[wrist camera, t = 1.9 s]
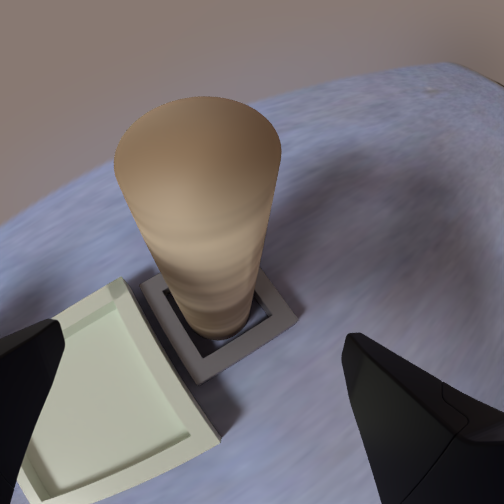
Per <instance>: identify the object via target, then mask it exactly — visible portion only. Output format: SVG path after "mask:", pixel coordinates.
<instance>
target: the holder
mask: <svg viewBox="0 0 504 504" xmlns="http://www.w3.org/2000/svg"><path fill="white" fill-rule="evenodd" d="M139 287H140V288H141V290H142V292H143V294H144V296H145V298H146V300H147V302H148V303H149V305H150V307H151V309H152V311H153V313H154V314H155V316H156V318H157V320H158V322H159V323H160V325H161V327H162V329H163V330H164V332H165V334H166V336H167V337H168V339H169V341H170V342H171V344H172V346H173V347H174V349H175V351H176V352H177V354H178V356H179V357H180V359H181V361H182V362H183V364H184V366H185V367H186V369H187V370H188V372H189V374H190V375H191V377H192V378H193V380H194V381H195V383H196V385H198V386H199V385H201V384H203V383H204V382H206V381H208V380H209V379H211V378H213V377H214V376H216V375H218V374H219V373H221V372H223V371H224V370H226V369H227V368H229V367H231V366H232V365H234V364H235V363H237V362H239V361H240V360H242V359H243V358H245V357H247V356H248V355H250V354H251V353H253V352H254V351H256V350H257V349H259V348H260V347H262V346H264V345H265V344H267V343H268V342H270V341H271V340H273V339H274V338H276V337H277V336H279V335H280V334H282V333H283V332H284V331H286V330H287V329H289V328H290V327H292V326H293V325H295V324H296V323H297V321H298V318H297V317H296V316H295V314H294V313H293V311H292V310H291V309H290V307H289V306H288V305H287V303H286V302H285V301H284V299H283V298H282V296H281V295H280V294H279V292H278V291H277V290H276V288H275V287H274V285H273V284H272V283H271V281H270V280H269V279H268V277H267V276H266V275H265V273H264V272H263V270H262V269H261V268H260V266H259V270H258V274H257V279H256V284H255V289H254V294H253V295H254V297H255V298H256V300H257V301H258V303H259V304H260V305H261V307H262V308H263V310H264V311H265V312H266V314H267V315H268V317H269V318H268V319H266V320H264V321H263V322H261V323H260V324H258V325H257V326H255V327H254V328H252V329H250V330H249V331H247V332H246V333H244V334H243V335H241V336H239V337H238V338H236V339H235V340H233V341H231V342H230V343H228V344H227V345H225V346H223V347H222V348H220V349H218V350H217V351H215V352H213V353H212V354H210V355H209V356H207V357H205V358H204V359H203V358H202V356H201V355H200V353H199V352H198V350H197V348H196V347H195V345H194V344H193V342H192V340H191V339H190V337H189V336H188V334H187V332H186V331H185V329H184V327H183V326H182V324H181V322H180V321H179V319H178V317H177V316H176V314H175V312H174V311H173V309H172V307H171V305H170V304H169V302H168V300H167V298H166V296H167V295H169V294H171V291H170V289H169V288H168V286H167V284H166V282H165V280H164V278H163V276H162V274H161V273H159V274H157V275H156V276H154V277H152V278H150V279H149V280H147V281H145V282H143V283H142V284H140V285H139Z"/></svg>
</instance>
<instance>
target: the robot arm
mask: <svg viewBox="0 0 504 504" xmlns="http://www.w3.org/2000/svg"><path fill="white" fill-rule="evenodd" d="M64 349H65V339H64V336H63V332H62V329H61V325H60V322H59V321H58V320H55V319H45V320H43V321H40V322H38V323H36V324H33V325H31V326H29V327H26V328H24V329H22V330H20V331H17V332H15V333H13V334H10V335H8V336H6V337H3V338H1V339H0V504H10V502H11V499H12V495H13V491H14V487H15V484H16V481H17V478H18V474H19V471H20V468H21V465H22V462H23V459H24V456H25V453H26V450H27V448H28V445H29V442H30V439H31V437H32V434H33V431H34V429H35V426H36V423H37V421H38V418H39V416H40V413H41V411H42V409H43V406H44V404H45V401H46V399H47V397H48V394H49V392H50V390H51V387H52V385H53V382H54V379H55V376H56V373H57V370H58V367H59V364H60V361H61V358H62V355H63V352H64ZM341 360H342V366H343V371H344V375H345V380H346V385H347V390H348V395H349V400H350V403H351V407H352V410H353V413H354V416H355V419H356V422H357V425H358V428H359V431H360V434H361V438H362V441H363V444H364V447H365V450H366V453H367V457H368V460H369V463H370V466H371V469H372V473H373V476H374V479H375V483H376V486H377V489H378V493H379V496H380V500H381V503H382V504H504V412H502V411H500V410H497V409H495V408H493V407H491V406H489V405H487V404H484V403H482V402H480V401H478V400H476V399H474V398H472V397H470V396H468V395H466V394H464V393H462V392H460V391H459V390H457V389H455V388H453V387H451V386H450V385H448V384H446V383H445V382H442V381H441V380H439V379H438V378H436V377H434V376H433V375H431V374H429V373H428V372H426V371H424V370H422V369H421V368H419V367H417V366H416V365H414V364H412V363H411V362H409V361H407V360H406V359H404V358H402V357H401V356H399V355H397V354H395V353H394V352H392V351H390V350H389V349H387V348H385V347H384V346H382V345H380V344H379V343H377V342H375V341H374V340H372V339H370V338H369V337H367V336H365V335H364V334H362V333H349V334H347V336H346V339H345V343H344V348H343V352H342V357H341Z"/></svg>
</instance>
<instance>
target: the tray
mask: <svg viewBox="0 0 504 504" xmlns="http://www.w3.org/2000/svg"><path fill="white" fill-rule="evenodd" d="M51 319H55V320H58V321H59V322H60V325H61V329H62V332H63V336H64V339H65V349H64V352H63V355H62V358H61V361H60V364H59V367H58V370H57V373H56V376H55V379H54V382H53V385H52V387H51V390H50V392H49V394H48V397H47V399H46V401H45V404H44V406H43V409H42V411H41V413H40V416H39V418H38V421H37V423H36V426H35V429H34V431H33V434H32V437H31V439H30V442H29V445H28V448H27V450H26V453H25V456H24V459H23V462H22V465H21V468H20V471H19V474H18V478H17V482H18V483H19V485H20V487H21V489H22V490H23V492H24V494H25V496H26V497H27V499H28V501H29V502H30V504H91V503H94V502H97V501H99V500H102V499H105V498H107V497H110V496H112V495H115V494H117V493H120V492H122V491H125V490H127V489H129V488H132V487H134V486H136V485H139V484H141V483H143V482H145V481H148V480H150V479H152V478H154V477H156V476H158V475H160V474H163V473H165V472H167V471H169V470H171V469H173V468H175V467H177V466H179V465H181V464H183V463H185V462H187V461H188V460H190V459H192V458H194V457H196V456H198V455H200V454H202V453H203V452H205V451H207V450H209V449H211V448H212V447H214V446H216V445H218V444H219V443H221V439H222V438H221V436H220V435H219V434H218V432H217V431H216V429H215V428H214V426H213V425H212V424H211V422H210V421H209V419H208V418H207V416H206V415H205V413H204V412H203V410H202V409H201V408H200V406H199V405H198V403H197V401H196V400H195V398H194V397H193V395H192V394H191V392H190V391H189V389H188V388H187V386H186V384H185V383H184V381H183V380H182V378H181V377H180V375H179V373H178V372H177V370H176V368H175V367H174V365H173V363H172V362H171V360H170V358H169V357H168V355H167V353H166V352H165V350H164V348H163V347H162V345H161V343H160V341H159V340H158V338H157V336H156V334H155V332H154V331H153V329H152V327H151V325H150V323H149V322H148V320H147V318H146V316H145V314H144V312H143V310H142V309H141V307H140V305H139V303H138V301H137V299H136V297H135V295H134V293H133V291H132V289H131V287H130V286H129V285H128V284H127V283H126V281H125V280H124V279H123V278H122V276H121V277H119V278H118V279H116V280H114V281H113V282H111V283H109V284H107V285H106V286H104V287H102V288H101V289H99V290H97V291H96V292H94V293H92V294H91V295H89V296H87V297H86V298H84V299H82V300H81V301H79V302H77V303H76V304H74V305H72V306H71V307H69V308H67V309H66V310H64V311H63V312H61V313H59V314H58V315H56V316H54V317H53V318H51Z"/></svg>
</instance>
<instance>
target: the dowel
mask: <svg viewBox="0 0 504 504" xmlns="http://www.w3.org/2000/svg"><path fill="white" fill-rule="evenodd" d="M280 161H281V143H280V140H279V136H278V134H277V132H276V130H275V129H274V127H273V126H272V124H271V123H270V122H269V121H268V120H267V119H266V118H265V117H264V116H263V115H262V114H260V113H259V112H258V111H256V110H255V109H253V108H251V107H249V106H247V105H245V104H243V103H240V102H237V101H233V100H229V99H225V98H220V97H191V98H185V99H179V100H176V101H172V102H169V103H166V104H163V105H161V106H159V107H157V108H155V109H153V110H151V111H149V112H147V113H146V114H144V115H143V116H142V117H140V118H139V119H138V120H137V121H135V122H134V123H133V124H132V125H131V126H130V127H129V129H128V130H127V131H126V132H125V134H124V135H123V137H122V138H121V140H120V142H119V144H118V147H117V149H116V152H115V157H114V171H115V176H116V179H117V181H118V184H119V186H120V189H121V191H122V193H123V195H124V198H125V200H126V202H127V204H128V206H129V209H130V211H131V213H132V215H133V217H134V219H135V222H136V224H137V226H138V228H139V230H140V232H141V234H142V236H143V238H144V240H145V242H146V244H147V246H148V248H149V251H150V253H151V255H152V257H153V259H154V261H155V262H156V264H157V266H158V268H159V270H160V272H161V274H162V276H163V278H164V280H165V282H166V284H167V286H168V288H169V289H170V291H171V293H172V295H173V297H174V299H175V301H176V302H177V304H178V306H179V308H180V310H181V312H182V313H183V315H184V317H185V319H186V321H187V322H188V324H189V326H190V327H191V329H192V330H193V331H194V332H195V333H197V334H198V335H200V336H201V337H203V338H206V339H209V340H225V339H228V338H231V337H233V336H235V335H236V334H238V333H239V332H240V331H241V330H242V329H243V327H244V326H245V324H246V322H247V320H248V317H249V313H250V308H251V303H252V299H253V294H254V289H255V284H256V279H257V274H258V270H259V265H260V260H261V255H262V250H263V245H264V240H265V236H266V231H267V226H268V221H269V216H270V211H271V206H272V201H273V196H274V191H275V186H276V181H277V176H278V171H279V166H280Z"/></svg>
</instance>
